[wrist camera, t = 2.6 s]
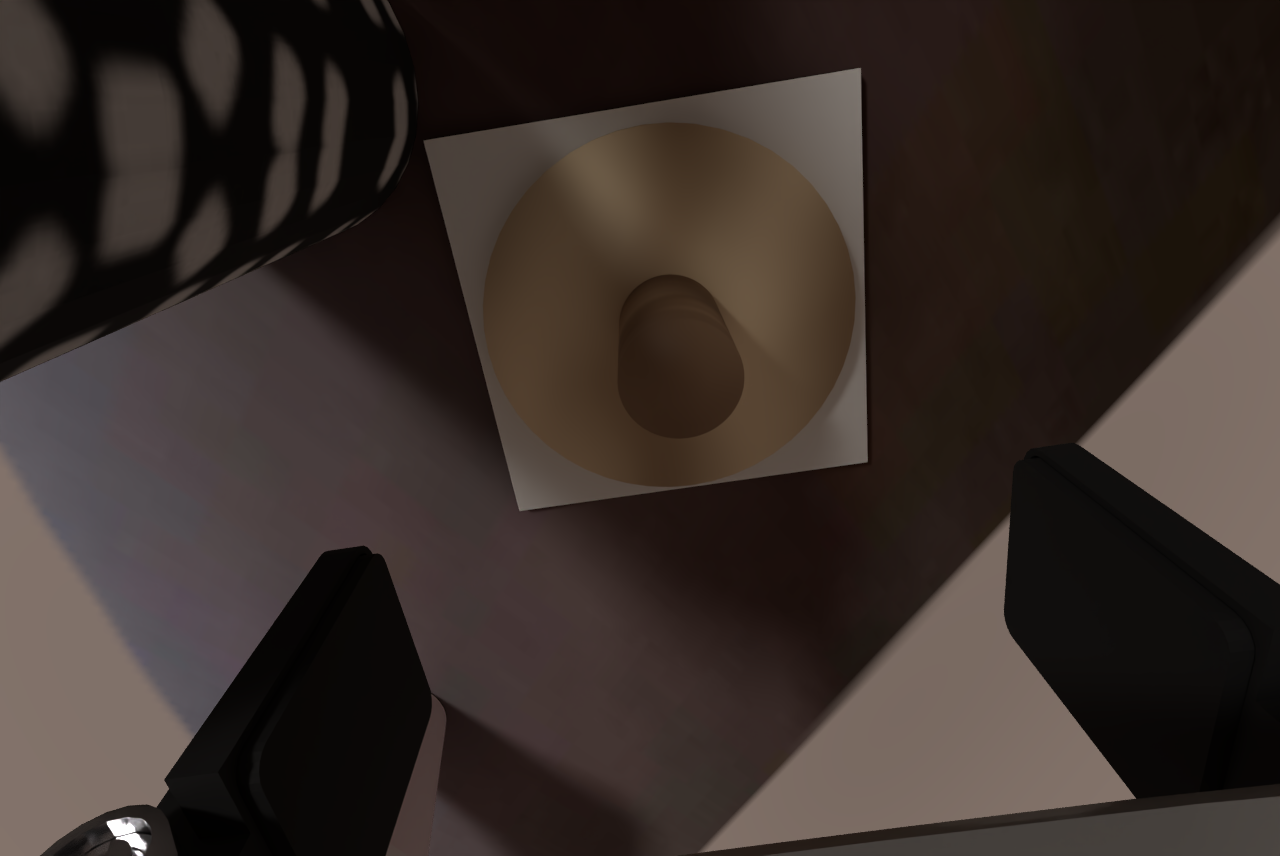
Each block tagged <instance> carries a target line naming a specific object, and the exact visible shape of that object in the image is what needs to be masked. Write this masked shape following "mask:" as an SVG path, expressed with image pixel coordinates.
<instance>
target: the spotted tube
mask: <svg viewBox="0 0 1280 856" xmlns="http://www.w3.org/2000/svg"><path fill="white" fill-rule="evenodd" d="M417 113H418V96H417V88H416V79H415V70H414V66H413V63H412V59H411V56H410V52H409V49H408V46H407V42H406V39H405V35H404V33H403V31H402V29H401V27H400V25H399V23H398V21H397V19H396V17H395V14H394V12H393V10H392V8H391V6H390V4H389V2H388V1H387V0H0V382H1V381H3V380H6V379H8V378H10V377H12V376H15V375H17V374H19V373H21V372H24V371H26V370H28V369H31V368H33V367H35V366H37V365H40V364H42V363H44V362H47V361H49V360H51V359H53V358H56V357H58V356H60V355H62V354H65V353H67V352H69V351H72V350H74V349H76V348H78V347H81V346H83V345H85V344H88V343H90V342H92V341H94V340H97V339H99V338H101V337H103V336H106V335H108V334H110V333H113V332H115V331H117V330H119V329H122V328H124V327H126V326H129V325H131V324H133V323H135V322H138V321H140V320H142V319H144V318H147V317H149V316H151V315H154V314H156V313H158V312H160V311H163V310H165V309H167V308H170V307H172V306H174V305H176V304H179V303H181V302H183V301H185V300H188V299H190V298H192V297H195V296H197V295H199V294H201V293H204V292H206V291H208V290H211V289H213V288H215V287H217V286H220V285H222V284H224V283H226V282H229V281H231V280H233V279H236V278H238V277H240V276H242V275H245V274H247V273H249V272H252V271H254V270H256V269H258V268H261V267H263V266H265V265H267V264H270V263H272V262H274V261H277V260H279V259H281V258H283V257H286V256H288V255H290V254H293V253H295V252H297V251H299V250H302V249H304V248H306V247H308V246H311V245H313V244H315V243H318V242H320V241H322V240H324V239H327V238H329V237H331V236H334V235H336V234H338V233H340V232H342V231H345V230H347V229H349V228H351V227H353V226H356V225H358V224H359V223H360V222H362V221H363V220H364V219H366V218H367V217H368V216H369V215H371V214H372V213H373V212H375V211H376V210H377V209H379V207H380V206H381V205H382V204H383V203H384V201H385V200H386V199H387V198H388V197H389V195H390V194H391V193H392V192H393V190H394V189H395V188H396V186H397V184H398V182H399V180H400V178H401V176H402V174H403V172H404V170H405V168H406V166H407V164H408V162H409V159H410V155H411V151H412V147H413V144H414V140H415V136H416V128H417Z"/></svg>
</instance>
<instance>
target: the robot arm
mask: <svg viewBox="0 0 1280 856" xmlns="http://www.w3.org/2000/svg"><path fill="white" fill-rule="evenodd" d="M1009 529H1010V530H1009V543H1008V559H1007V574H1006V589H1005V604H1004V616H1005V621H1006V625H1007V628H1008V629H1009V632H1010V634H1011V636H1012V637H1013V639H1014V640H1015V641H1016V643H1017V644H1018V645H1019V646H1020V648H1021V649H1022V650H1023V652H1024V653H1025V654H1026V656H1027V657H1028V658H1029V660H1030V661H1031V662H1032V663H1033V665H1034V666H1035V667H1036V668H1037V670H1038V671H1039V673H1040V674H1041V675H1042V676H1043V677H1044V679H1045V680H1046V682H1047V683H1048V684H1049V685H1050V687H1051V688H1052V689H1053V691H1054V692H1055V693H1056V694H1057V696H1058V697H1059V698H1060V700H1061V701H1062V702H1063V704H1064V705H1065V706H1066V707H1067V709H1068V710H1069V712H1070V713H1071V714H1072V715H1073V717H1074V718H1075V719H1076V721H1077V722H1078V723H1079V725H1080V726H1081V727H1082V728H1083V730H1084V731H1085V732H1086V734H1087V735H1088V736H1089V737H1090V739H1091V740H1092V741H1093V743H1094V744H1095V745H1096V747H1097V748H1098V749H1099V751H1100V752H1101V753H1102V755H1103V756H1104V757H1105V758H1106V760H1107V761H1108V762H1109V764H1110V765H1111V766H1112V768H1113V769H1114V770H1115V771H1116V773H1117V774H1118V775H1119V777H1120V778H1121V779H1122V780H1123V782H1124V783H1125V784H1126V786H1127V787H1128V788H1129V790H1130V791H1131V792H1132V794H1133V795H1134V796H1135V797H1136V799H1131V800H1122V801H1115V802H1106V803H1098V804H1089V805H1081V806H1073V807H1065V808H1056V809H1048V810H1040V811H1032V812H1023V813H1015V814H1007V815H999V816H991V817H982V818H974V819H966V820H958V821H949V822H941V823H934V824H925V825H916V826H908V827H900V828H892V829H884V830H876V831H868V832H860V833H852V834H844V835H836V836H829V837H821V838H813V839H806V840H797V841H789V842H781V843H773V844H765V845H757V846H750V847H742V848H735V849H726V850H718V851H711V852H703V853H695V854H687V855H679V856H1280V584H1278V583H1276V582H1275V581H1274V580H1272V579H1271V578H1269V577H1268V576H1267V575H1265V574H1264V573H1262V572H1261V571H1259V570H1258V569H1256V568H1255V567H1253V566H1252V565H1251V564H1249V563H1248V562H1246V561H1245V560H1243V559H1242V558H1241V557H1239V556H1238V555H1236V554H1235V553H1233V552H1232V551H1231V550H1229V549H1228V548H1226V547H1225V546H1223V545H1222V544H1220V543H1219V542H1217V541H1216V540H1215V539H1213V538H1212V537H1210V536H1209V535H1208V534H1206V533H1205V532H1203V531H1202V530H1200V529H1199V528H1197V527H1196V526H1195V525H1193V524H1192V523H1190V522H1189V521H1187V520H1186V519H1184V518H1183V517H1182V516H1180V515H1179V514H1177V513H1176V512H1174V511H1173V510H1172V509H1170V508H1169V507H1167V506H1166V505H1164V504H1163V503H1161V502H1160V501H1158V500H1157V499H1156V498H1154V497H1153V496H1151V495H1150V494H1148V493H1147V492H1145V491H1144V490H1143V489H1141V488H1140V487H1138V486H1137V485H1135V484H1134V483H1133V482H1131V481H1130V480H1128V479H1127V478H1125V477H1124V476H1123V475H1121V474H1120V473H1118V472H1117V471H1115V470H1114V469H1112V468H1111V467H1110V466H1108V465H1107V464H1105V463H1104V462H1102V461H1101V460H1099V459H1098V458H1097V457H1095V456H1094V455H1092V454H1091V453H1089V452H1088V451H1087V450H1085V449H1084V448H1082V447H1081V446H1079V445H1077V444H1075V443H1067V444H1060V445H1054V446H1047V447H1040V448H1033V449H1030V450H1029V451H1028V452H1027V453H1026V455H1025V457H1024V460H1019V461H1018V462H1017V463H1016V464H1015V466H1014V471H1013V484H1012V499H1011V513H1010V528H1009ZM431 711H432V696H431V691H430V687H429V685H428V682H427V679H426V676H425V673H424V670H423V667H422V665H421V662H420V659H419V656H418V653H417V650H416V648H415V645H414V642H413V639H412V636H411V633H410V630H409V628H408V625H407V622H406V619H405V616H404V613H403V610H402V608H401V605H400V602H399V599H398V596H397V593H396V590H395V588H394V585H393V582H392V579H391V576H390V573H389V571H388V568H387V565H386V562H385V560H384V558H383V557H382V555H380V554H378V553H377V554H372V552H371V551H370V550H369V548H368V547H365V546H359V547H352V548H345V549H338V550H331V551H326V552H324V553H323V554H322V555H321V556H320V557H319V559H318V560H317V562H316V563H315V565H314V566H313V567H312V569H311V570H310V572H309V573H308V575H307V576H306V577H305V579H304V580H303V582H302V583H301V585H300V586H299V588H298V589H297V590H296V592H295V593H294V595H293V596H292V598H291V599H290V600H289V602H288V603H287V605H286V606H285V608H284V609H283V610H282V612H281V613H280V615H279V616H278V618H277V619H276V620H275V622H274V623H273V625H272V626H271V628H270V629H269V630H268V632H267V633H266V635H265V636H264V638H263V639H262V641H261V642H260V643H259V645H258V646H257V648H256V649H255V651H254V652H253V653H252V655H251V656H250V658H249V659H248V661H247V662H246V663H245V665H244V666H243V668H242V669H241V671H240V672H239V673H238V675H237V676H236V678H235V679H234V681H233V682H232V683H231V685H230V686H229V688H228V689H227V691H226V692H225V693H224V695H223V696H222V698H221V699H220V701H219V702H218V704H217V705H216V706H215V708H214V709H213V711H212V712H211V714H210V715H209V716H208V718H207V719H206V721H205V722H204V724H203V725H202V726H201V728H200V729H199V731H198V732H197V734H196V735H195V736H194V738H193V739H192V741H191V742H190V744H189V745H188V746H187V748H186V749H185V751H184V752H183V754H182V755H181V757H180V758H179V759H178V761H177V762H176V764H175V765H174V767H173V768H172V769H171V771H170V772H169V774H168V775H167V777H166V778H165V782H166V784H167V786H168V787H169V790H168V791H167V793H166V794H165V796H164V798H163V799H162V800H161V802H160V803H159V805H158V806H157V808H155V807H153V806H150V805H133V806H126V807H123V808H119V809H116V810H113V811H110V812H106V813H104V814H102V815H100V816H98V817H96V818H94V819H92V820H90V821H88V822H86V823H84V824H82V825H80V826H79V827H78V828H76V829H74V830H73V831H71V832H70V833H68V834H67V835H65V836H64V837H62V838H61V839H59V840H58V841H57V842H56V843H54V844H53V845H52V846H51V847H50V848H48V849H47V850H46V851H45V852H44V853H43V854H42V855H40V856H386V853H387V850H388V847H389V844H390V840H391V837H392V834H393V831H394V828H395V825H396V822H397V819H398V816H399V812H400V809H401V806H402V803H403V800H404V797H405V794H406V791H407V788H408V785H409V781H410V778H411V775H412V772H413V769H414V766H415V763H416V760H417V757H418V753H419V750H420V747H421V744H422V741H423V738H424V735H425V732H426V729H427V726H428V722H429V719H430V716H431Z"/></svg>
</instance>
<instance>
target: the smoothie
mask: <svg viewBox="0 0 1280 856" xmlns="http://www.w3.org/2000/svg"><path fill="white" fill-rule="evenodd" d="M431 696H432V711H431V716H430V719H429V722H428V726H427V729H426V732H425V735H424V738H423V741H422V744H421V747H420V750H419V753H418V757H417V760H416V763H415V766H414V769H413V772H412V775H411V778H410V781H409V785H408V788H407V791H406V794H405V797H404V800H403V803H402V806H401V809H400V812H399V816H398V819H397V822H396V825H395V828H394V831H393V834H392V837H391V840H390V844H389V847H388V850H387V853H386V856H428V853H429V846H430V838H431V831H432V824H433V816H434V809H435V802H436V794H437V787H438V780H439V772H440V765H441V758H442V750H443V743H444V736H445V728H446V713H445V710H444V708H443V706H442V704H441V703H440V702H439V700H438V699H437V698H436V697H435V696H433V695H432V694H431Z"/></svg>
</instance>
